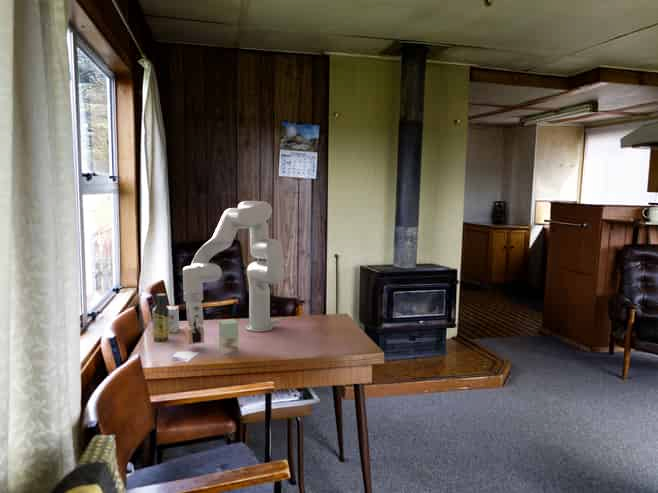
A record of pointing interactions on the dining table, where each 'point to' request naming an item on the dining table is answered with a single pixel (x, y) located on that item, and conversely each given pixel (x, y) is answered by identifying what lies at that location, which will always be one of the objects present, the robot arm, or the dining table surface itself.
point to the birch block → (228, 345)
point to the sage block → (228, 329)
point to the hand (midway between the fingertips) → (195, 339)
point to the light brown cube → (189, 334)
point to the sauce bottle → (161, 319)
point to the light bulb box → (170, 318)
